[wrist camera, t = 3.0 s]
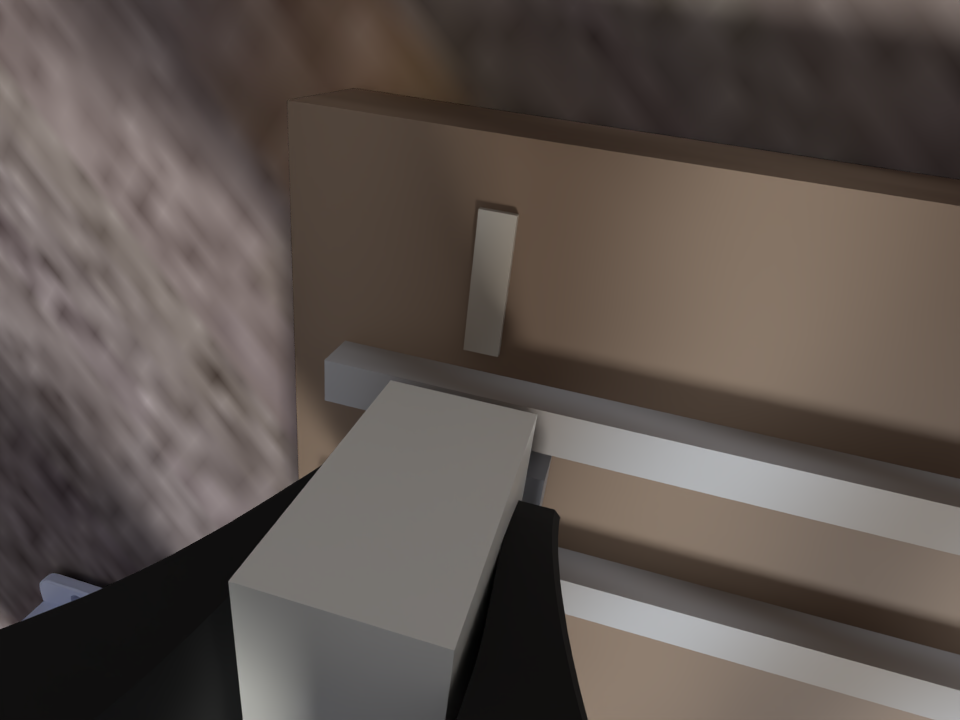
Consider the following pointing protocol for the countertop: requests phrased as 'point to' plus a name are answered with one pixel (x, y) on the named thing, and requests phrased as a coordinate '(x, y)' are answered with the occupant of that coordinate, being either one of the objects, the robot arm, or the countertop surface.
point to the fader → (385, 564)
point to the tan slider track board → (666, 385)
